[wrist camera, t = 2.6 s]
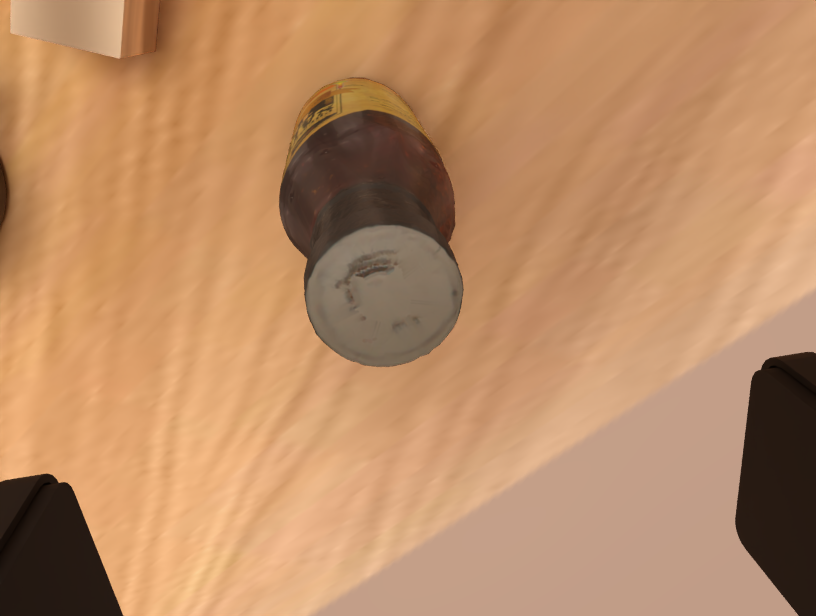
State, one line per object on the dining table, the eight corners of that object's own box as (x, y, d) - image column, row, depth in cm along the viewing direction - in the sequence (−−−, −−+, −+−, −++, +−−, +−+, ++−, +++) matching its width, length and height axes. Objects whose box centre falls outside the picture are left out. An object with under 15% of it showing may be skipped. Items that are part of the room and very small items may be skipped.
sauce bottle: (306, 60, 32) (283, 118, 14) (429, 91, 34) (547, 180, 16) (283, 189, 35) (238, 376, 17) (398, 214, 36) (471, 413, 18)
